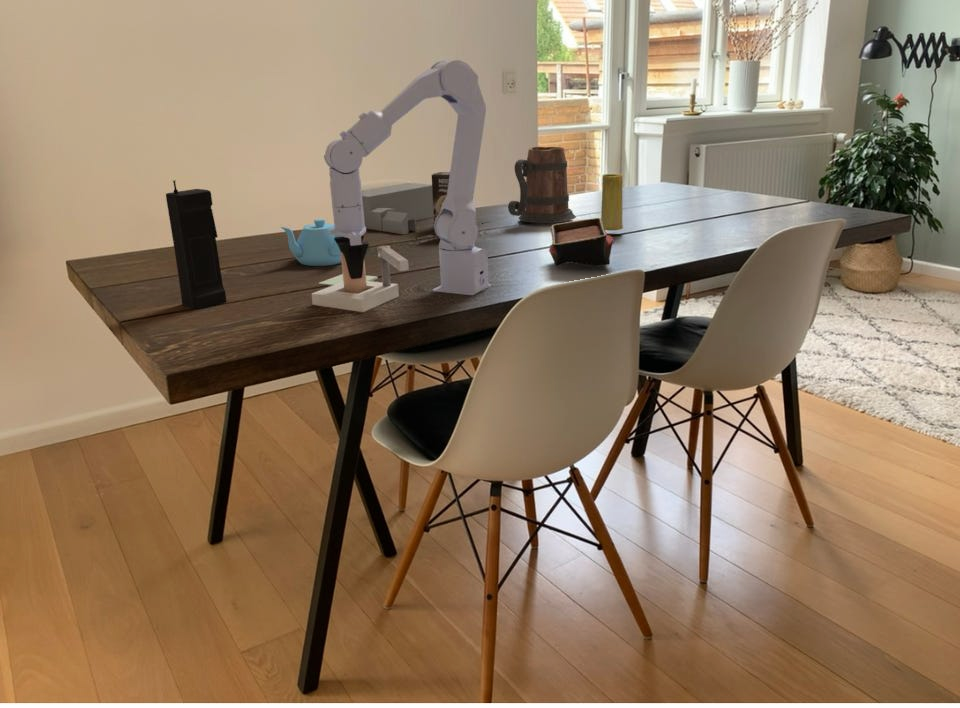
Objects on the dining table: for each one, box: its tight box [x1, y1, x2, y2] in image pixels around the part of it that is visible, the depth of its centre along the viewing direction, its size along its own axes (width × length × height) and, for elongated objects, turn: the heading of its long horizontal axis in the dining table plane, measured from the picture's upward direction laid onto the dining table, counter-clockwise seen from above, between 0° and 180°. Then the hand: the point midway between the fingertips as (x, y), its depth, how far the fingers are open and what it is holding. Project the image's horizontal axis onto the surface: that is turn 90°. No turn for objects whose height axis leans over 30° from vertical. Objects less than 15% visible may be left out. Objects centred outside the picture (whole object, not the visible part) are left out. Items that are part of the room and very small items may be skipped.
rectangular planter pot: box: [548, 217, 614, 267], centre depth 184 cm, size 14×18×10 cm
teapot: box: [280, 218, 342, 267], centre depth 193 cm, size 15×15×10 cm
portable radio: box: [165, 179, 227, 310], centre depth 156 cm, size 8×6×25 cm
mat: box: [318, 273, 379, 287], centre depth 175 cm, size 9×9×1 cm
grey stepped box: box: [361, 182, 434, 240], centre depth 230 cm, size 25×23×11 cm
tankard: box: [507, 146, 576, 224], centre depth 235 cm, size 24×17×20 cm
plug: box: [341, 252, 367, 294], centre depth 158 cm, size 4×4×8 cm
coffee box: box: [431, 171, 450, 235], centre depth 220 cm, size 9×6×16 cm
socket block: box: [311, 257, 400, 313], centre depth 159 cm, size 12×12×8 cm
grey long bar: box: [377, 245, 410, 272], centre depth 153 cm, size 15×2×2 cm, turn 21°
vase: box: [600, 173, 624, 231], centre depth 218 cm, size 6×6×14 cm
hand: (354, 275), depth 158 cm, fingers closed on plug, 4 cm apart
